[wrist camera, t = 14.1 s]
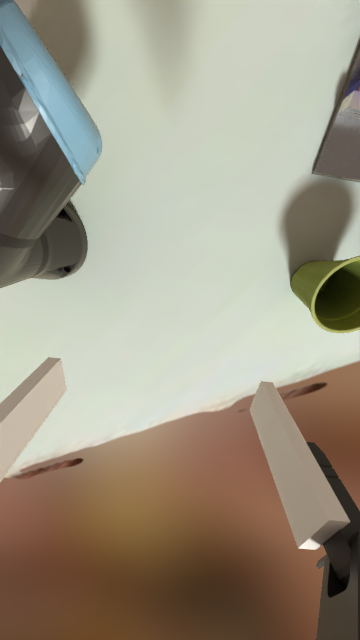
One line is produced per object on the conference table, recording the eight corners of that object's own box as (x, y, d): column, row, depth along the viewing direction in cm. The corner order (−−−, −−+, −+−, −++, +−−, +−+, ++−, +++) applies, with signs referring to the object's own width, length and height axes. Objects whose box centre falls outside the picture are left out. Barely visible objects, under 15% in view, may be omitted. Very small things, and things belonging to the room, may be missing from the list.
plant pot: (351, 281, 38) (412, 301, 27) (295, 317, 41) (331, 346, 31) (326, 232, 34) (385, 234, 24) (267, 276, 38) (297, 294, 27)
